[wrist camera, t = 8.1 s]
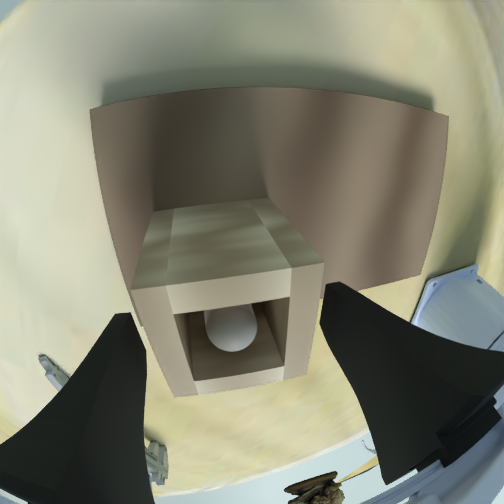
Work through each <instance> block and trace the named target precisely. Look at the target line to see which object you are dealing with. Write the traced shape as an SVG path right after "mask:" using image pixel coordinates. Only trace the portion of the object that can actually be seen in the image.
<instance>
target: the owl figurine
mask: <svg viewBox="0 0 504 504" xmlns="http://www.w3.org/2000/svg"><path fill="white" fill-rule="evenodd" d="M337 474H338V473H337V472H336V471H334V472H330V473H326V474H323V475H320V476H316V477H314V478H310V479H307V480H304V481H301V482H298V483H295V484H292V485H290V486H288V487H287V488H285V489H284V491H285V492H287V493H291V494H292V495H298V497H296V498H294V499H293V500H290V501H288V504H342V501H343V500H344V498H345V497H344V494H343V492H342V490H340V489H339V487H340V486H341V483H335V482H334V481H333V479H335V478H336V476H337Z"/></svg>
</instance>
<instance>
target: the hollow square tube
mask: <svg viewBox="0 0 504 504" xmlns="http://www.w3.org/2000/svg"><path fill="white" fill-rule="evenodd" d="M323 271H324V262H323V260H322V259H321V258H320V257H319V256H318V254H317V253H316V252H315V251H314V250H313V248H312V247H311V246H310V245H309V244H308V242H307V241H306V240H305V239H304V238H303V237H302V235H301V234H300V233H299V232H298V231H297V230H296V228H295V227H294V226H293V225H292V224H291V223H290V222H289V220H288V219H287V218H286V217H285V216H284V215H283V214H282V212H281V211H280V210H279V209H278V208H277V207H276V206H275V205H274V203H273V202H272V201H271V200H270V199H269V198H263V199H252V200H242V201H233V202H224V203H215V204H206V205H198V206H190V207H183V208H175V209H168V210H161V211H154V212H153V213H152V216H151V219H150V223H149V226H148V229H147V232H146V235H145V238H144V242H143V245H142V249H141V252H140V255H139V259H138V263H137V266H136V270H135V274H134V277H133V281H132V285H131V289H130V291H131V294H132V297H133V300H134V302H135V305H136V308H137V311H138V314H139V316H140V319H141V322H142V324H143V327H144V330H145V332H146V335H147V337H148V340H149V342H150V345H151V347H152V350H153V352H154V354H155V357H156V359H157V361H158V364H159V366H160V368H161V370H162V373H163V375H164V377H165V379H166V381H167V383H168V386H169V388H170V390H171V392H172V394H173V396H174V397H183V396H193V395H202V394H210V393H217V392H224V391H230V390H236V389H242V388H248V387H253V386H258V385H263V384H268V383H273V382H277V381H282V380H286V379H290V378H295V377H299V376H303V375H306V373H307V369H308V363H309V358H310V353H311V348H312V342H313V337H314V331H315V325H316V319H317V313H318V306H319V300H320V293H321V286H322V278H323ZM250 303H251V306H252V309H253V312H254V315H255V317H256V321H257V332H256V336H255V338H254V340H253V341H252V342H251V343H250V344H249V345H248V346H247V347H246V348H244V349H242V350H239V351H233V352H230V351H224V350H222V349H219V348H218V347H216V346H215V345H214V344H213V343H212V342H211V341H210V339H209V337H208V335H207V332H206V325H205V317H204V310H210V309H217V308H224V307H230V306H237V305H243V304H250Z"/></svg>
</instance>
